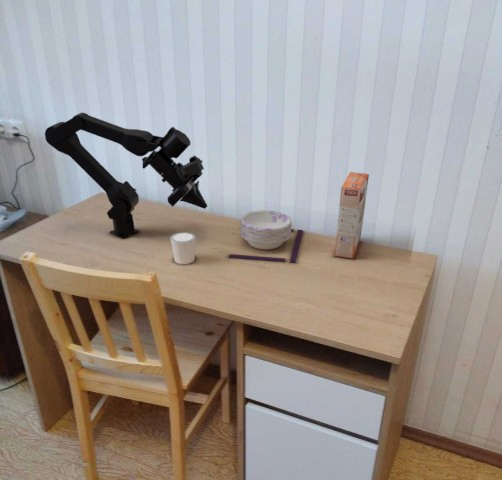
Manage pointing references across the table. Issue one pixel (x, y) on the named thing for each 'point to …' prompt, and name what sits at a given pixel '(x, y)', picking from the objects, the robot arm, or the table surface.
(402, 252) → the table surface
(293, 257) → the frame
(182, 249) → the shot glass
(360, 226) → the cracker box
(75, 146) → the robot arm
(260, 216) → the paper bowls
